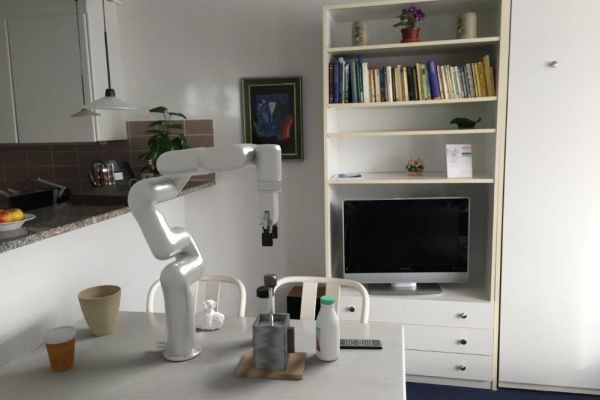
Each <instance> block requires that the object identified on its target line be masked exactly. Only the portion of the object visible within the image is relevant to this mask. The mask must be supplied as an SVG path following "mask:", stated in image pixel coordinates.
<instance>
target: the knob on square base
mask: <svg viewBox="0 0 600 400" xmlns="http://www.w3.org/2000/svg"><path fill="white" fill-rule="evenodd" d="M263 286H265V287H269V307H270V321H265V320H261V322H260V324H259V325H275V326H284V323H285V321H273V298H272V287H275V288H276V287H277V286H278V275H277V274H275V273H267V274H264V275H263Z"/></svg>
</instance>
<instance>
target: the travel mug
mask: <svg viewBox="0 0 600 400" xmlns="http://www.w3.org/2000/svg"><path fill="white" fill-rule="evenodd" d="M275 288H276V286H275V287H272V298H273V313H276V310H275V309H276V308H275V307H276V306H275ZM255 291H256V292H255V293H256V295H255V297H256V316H257V315H258V313H270V307H269V287H265V286H264V285H261V286H259V287H257V288H256V290H255Z"/></svg>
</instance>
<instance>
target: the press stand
mask: <svg viewBox="0 0 600 400" xmlns="http://www.w3.org/2000/svg"><path fill="white" fill-rule="evenodd" d="M261 320H265V321H270V313H258V315H257V314H256V318H255V319H254V322H253V324H252V329H251V330H252V350H245V352H244V355H243V357H242V359H241V361H240V363H239V366H238V367H237V369H236V372H235V376H236V378H252V379H253V378H255V379H256V378H259V379H280V380H283V379H284V380H287V379H288V380H303V377H304V371H305V367H306V362H307V352H305V351H296V342H295V341H296V340H295V339H296V338H295V336H296V335H295V326H291V325H290V324H291V323H290V321H291V317H290V313H286V312H285V313H281V312H279V313H278V312H275V313H273V321H285V323H284V326H275V325H259V324H260V322H261Z"/></svg>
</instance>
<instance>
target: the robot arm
mask: <svg viewBox="0 0 600 400" xmlns="http://www.w3.org/2000/svg"><path fill="white" fill-rule="evenodd" d="M155 166H156V169H157V171H158V173H159V174H160V175H161V176H155V177H148V178H143V179H141V180H138V181H137V182H135V183H134V184H133V185H132V186H131V187H130V189H129V191H128V195H127V204H128V207H129V211H130V213H131V215H132V216H133V218H134V220H135V221H136V223H137V224H138V226H139V228H140V231H141V233H142V235H143V237H144V239H145V242H146V244H147V245H148V248H149V250H150V252H151V254H152V256H153V257H154V258H155V259H156V260H158V261H167V260H170V259H172V258H175V260H174V261H172V262H169V263H168V264H166V265H165V266H164V268H163V269H162V270H161V271H160V274H159V282H160V286H161V290H162V293H163V294H162V295H163V301H164V315H165V329H166V330H165V331H166V338H165V339H161V338H157V339H156V341H155V345H156V348H157V349H158V348H159V349H161V348H163V350H162V356H163V358H164V359H166V360H168V361H171V362H183V361H189V360H191V359H193V358H196V357H197V356H199V355H200V354H201V353H202V345H201V344H200V343H198V342H197V333H196V332H197V331H196V326H195V314H196V313H195V311H196V309H195V299H194V294H193V293H192V291H191V286H192V284H193V285H194V283H196V282H198V281H200V280H201V279H202V278H203V276H204V275H205V274H206V273H205V272H206V265H205V261H204V259H203V257H202V254H201V252H200V250H199V248H198V246H197V244H196V242H195V240H194V238H193V235H192V234H191V232H189V231H188V230H187V229H186V228H184V227H183V226H173V227H170V225H169V223H168V221H167V219H166V217H165V215H164V214H163V212H162V211H161V210H160V209H158V208H157V207H156V205H157V204H159V203H162V202H163V203H164V202H167V201H171V200H174V199H175V197H177V196H178V195H179V194H180V193H181V191H182V190H183V188H184V187H185V186H186V184H187V183H188V182H189V180H190V179H191V178H192V177H193V176H195V177H196V176H204V175H209V174H215V173H226V172H234V171H235V172H236V171H241V170H247V169H252V168H255V174H256V175H255V177H256V178H255V179H256V180H255V182H256V184H255V185H256V192H258V202H257V204H258V206H257V207H258V208H257V210H258V211H257V214H258V215H257V216H258V217H257V225H259V226H261V246H262V247H271V248H272V247H273V246H274V239H275V240H278V238H279V234H278V233H279V230H278V229H279V227H278V221H279V214H280V212H279V192H283V191H282V189H283V188H282V178H283V177H282V174H283V173H282V149H281V146H280V145H279V144H275V143H274V144H272V143H271V144H270V143H269V144H267V143H266V144H255V143H236V144H235V143H233V144H226V145H220V146H211V147H205V146H201V147H194V148H193V147H192V148H186V149H177V150H170V151H165V152H163V153H162V154H160V155H159V156H158V158H157V160H156V165H155Z"/></svg>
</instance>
